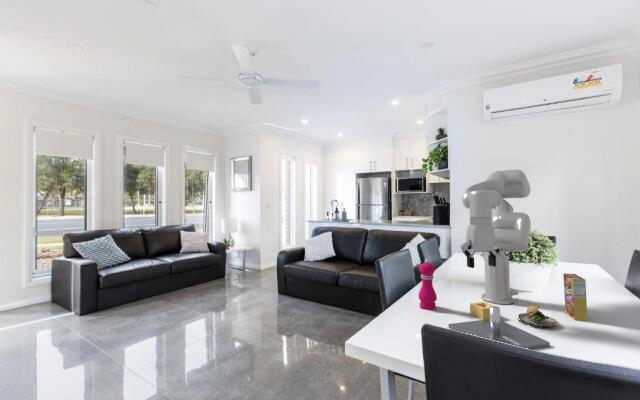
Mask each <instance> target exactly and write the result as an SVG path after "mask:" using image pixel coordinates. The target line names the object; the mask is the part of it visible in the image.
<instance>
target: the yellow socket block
mask: <svg viewBox="0 0 640 400" xmlns="http://www.w3.org/2000/svg"><path fill="white" fill-rule="evenodd" d="M490 306H494V305H493V304H490V303H488V302H487V301H478V302H469V314H471V315H472V316H474V317H477V318H479V320H485V319H490V308H489V307H490Z"/></svg>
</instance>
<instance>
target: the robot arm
mask: <svg viewBox="0 0 640 400" xmlns="http://www.w3.org/2000/svg"><path fill="white" fill-rule="evenodd" d="M530 193H531V184H530V182H529V179H528V177H527V176H526V173H524V172H523V170H521V169H507V170H497V171H493V172H492V173H491V174H489V175H488V178H487V179H485V180H484V181H481V182H478V183H476V184H473V185H470V186H469V187H468V188H466V190H465V191H464V193H463V195H462V198H461V199H462V205H463V206H464V207H465V208H466V209H469V225H468V226H467V228H466V234H465V235H466V237H465V242H464V243H463V244H461V245H460V249H461V251H462V253H463V254H464V255H465V257H466V266H467V268H471V269H475V257H474V255H475V254H476V253H483V256H484V257H483V258H484V260H483V261H484V293H482V294H481V299H482V300H483V301H484V302H487V303H488V302H489V303H493V304H498V305H510V304H511V305H512V304H514V303H515V298H513V296H518V295H519V291H518V290H512V289H511V287H510V286H511V285H510V284H511V282H510V278H511V277H510V260H509V258H508V256H507V255H506V254H505V252H517V253H523V252H526V251H527V250H528V246H529V242H530V241H529V240H530V236H531V235H530V234H531V225H532V223H531V222H532V221H531V218H530V216H529V215H528V214H527V213H525V212H520V211H519V212H518V211H517V212H514V207H513V206H512V204H510V202H508V201H507V200H505V199H525V198H527V197H529V196H530Z"/></svg>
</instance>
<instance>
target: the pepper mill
mask: <svg viewBox="0 0 640 400" xmlns="http://www.w3.org/2000/svg"><path fill="white" fill-rule="evenodd" d="M435 271H436V269H435V266H434V265H433V263H430V260H429V259H428V258H426V259H425V260H424V263H422V264H420V265H419V272H420V273H421V274H420V279H421V280H422V282H421V283H422V284H421V286H420V289H419V291H418V296H417V297H418V299H419V308H421V309H422V310H425V311H426V310H427V311H433V310H435V309H436V306H437V305H436V303H435V302H436V301H437V293H436V291H435V288H434V287H433V280H434V273H435Z"/></svg>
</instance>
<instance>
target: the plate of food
mask: <svg viewBox="0 0 640 400" xmlns="http://www.w3.org/2000/svg"><path fill="white" fill-rule="evenodd" d="M528 305H529V306H528V307H527V308H526V312H524V313H519V314H518V315H517V317H518V319H517V321H518V322H519V323H520V322H521V323H520V324H522V323H523V324H522V325H524V324H525V325H524V326H526V325H529V326H531V327H530V328H533V327H534V328H533V329H537V328H539V329H538V330H542V329H543V327H546V328H550V327H551V328H552V327H554V326H556V325H558V324H559V321H557V320H556V319H554V318H553V317H550V316H548V315H545V314H544V313H543V312H542V311H540V310H539V306H536V305H530V303H528ZM519 319H520V320H519ZM529 326H528V327H529Z"/></svg>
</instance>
